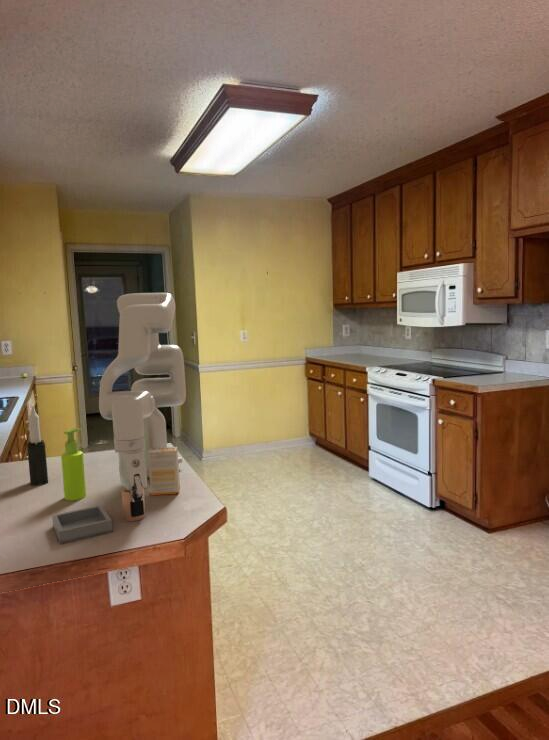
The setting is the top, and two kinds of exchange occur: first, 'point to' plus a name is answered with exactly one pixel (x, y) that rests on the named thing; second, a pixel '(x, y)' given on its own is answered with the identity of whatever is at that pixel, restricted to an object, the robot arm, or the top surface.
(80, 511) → the tray
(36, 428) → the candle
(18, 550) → the top surface
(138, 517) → the cup
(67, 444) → the soap dispenser
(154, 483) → the supplement box
